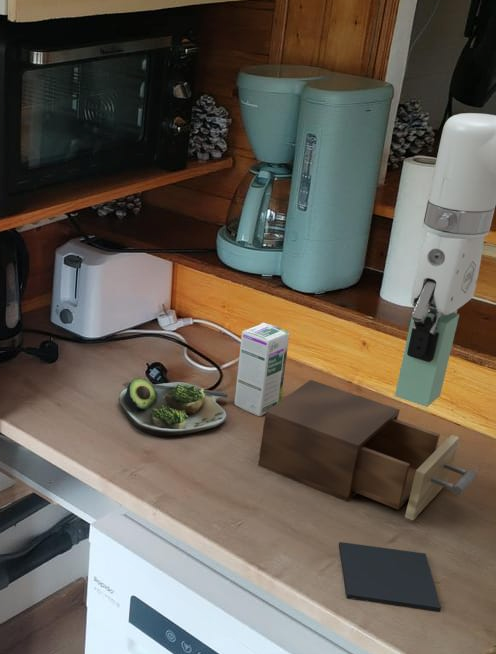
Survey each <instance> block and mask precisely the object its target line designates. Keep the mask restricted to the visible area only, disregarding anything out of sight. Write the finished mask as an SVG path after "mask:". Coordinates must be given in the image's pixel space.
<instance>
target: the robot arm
mask: <svg viewBox="0 0 496 654" xmlns="http://www.w3.org/2000/svg"><path fill="white" fill-rule="evenodd" d="M440 136H441V137H440V141H439V146H438V152H437V154H436V155H437V156H436V160H435V165H434V170H433V175H432V179H431V185H430V189H429V192H428V193H429V194H428V199H427V202H426V203H427V204H426V209H425V214H424V218H423V223H422V228H423V229H424V230H425V231H427V233H426V235H425V239H424V243H423V246H422V249H421V253H420V256H419V260H418V264H417V268H416V272H415V276H414V280H413V285H412V290H411V296H410V303H411V306H413V308H414V309H413V311H412V313H411V318H413V320H414V322H413V325H412V333H411V337H410V342H409V347H408V351H407V355H408V356H410V357H413V358H417V359H420V360H423V361H426V362H431V361H432V360H433V358H434V354H435V349H436V345H437V341H438V336H439V333H436V332H437V329H438V325H439V322H440V319H441V316H442V314H443V315H449V314H451V313H456V314H458V310H459V309H461V308H462V307H463V306H464V305H465V304H467V303H468V302H469V301H470V300H472V299H473V297H474V295H475V292H476V288H477V284H478V277H479V272H480V268H481V262H482V256H483V251H484V243H485V237H487V236H489V234H490V229H491V226H492V222H493V218H494V214H495V209H496V115H495V114H489V113H479V112H478V113H476V112H466V113H457V114H454V115H451V116H450V117H449V118H448V119H447V120H446V121H445V123H444V125H443V128H442V132H441V135H440ZM431 304H432V306H431ZM431 307H434V308H431ZM435 308H436V309H435ZM427 313H431V314H435V315H434V318H433V321H432V320H431V317H428V315H427Z"/></svg>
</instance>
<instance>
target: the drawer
mask: <svg viewBox="0 0 496 654" xmlns="http://www.w3.org/2000/svg"><path fill="white" fill-rule="evenodd" d="M439 440H440V433H437V432H435V431H432V430H429V429H426V428H423V427H420V426H417V425H415V424H412V423H408V422H405V421H402V420H400V419H398V420H397V419H394V418H393V419H392V420H391V421H390V422H389V423H388V424H387V425H386V426H384V427H383V428H382V429H381V430H380V431H379V432H378V433H377V434H375V435H374V436H373V437H372V438H371V439H370V440H369V441H367V442H366V443H365V444H364V445H363V446H362V447H361V448H360V451H359V456H358V461H357V466H356V471H355V476H354V480H353V485H352V490H351V491H353V492H356V494H358V495H360V496H363V497H366V498H368V499H371V500H373V501H376V502H378V503H381V504H383V505H386V506H388V507H390V508H393V509H396V510H399V509H400V508H401V507H402V506H403V505H404V504H405V503H406V501H408V503H407V507H406V511H405V515H404V517H405V518H406V519H408V520H411V521H414V520H415V519H416V518H417V517H418V516H419V515H420V513H421V512H422V511H423V510H424V509H425V508H426V507H427V506H428V505H429V504H430V503H431V502H432V500H433V499H435V497H436V496H437V495H438V494H439V492H440V491H441V490H442V489H443V488H446V489H448V490H451V493H452V494H453V495H455V496H461V495H462V494H463V493H464V492H465V490H467V489H468V487H469V486H470V485H471V484H472V482H474V480H475V479H476V478H477V476H478V472H477V471H476V470H475V469H472V468H470V469H467V470H466V469H465V468H461V467H458V466H455V465H453V464H454V460H455V456H456V454H457V453H456V452H457V448H458V444H459V441H460V437H459V436H457V435H455V434H450V435H449V436H448V437H447V439H445V440H444V441H442V443H441V444H440V446H438V444H439ZM451 472H454V473H456V474H459V475H462V476H461V477H460V478H459V479H458V480H457V482H456V483H454V484H453V483H450V482H449V480H450V475H451Z"/></svg>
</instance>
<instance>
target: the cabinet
mask: <svg viewBox="0 0 496 654" xmlns="http://www.w3.org/2000/svg"><path fill="white" fill-rule="evenodd" d="M399 415H400V408H396V407H393V406H391V405H387V404H384V403H383V402H382V403H381V402H378V401H375V400H372V399H370V398H367V397H364V396H360V395H357V394H354V393H353V392H352V393H351V392H348V391H346V390H342V389H340V388H337V387H333V386H331V385H327V384H326V383H322V382H319V381H316V380H313V379H309V380H308V381H307V382H305V383H304V384H302V385H301V386H299V387H298V388H297V389H295V390H294V391H292V392H291V393H290V394H288V395H287V396H286V397H284V398H283V399H281V401H280V402H278V403H277V404H276V405H274V406H273V407H271V408H270V409H269V410H267V411H266V413H265V414H264V420H263V421H264V422H263V427H262V436H261V441H260V449H259V456H258V463H257V466H259V467H262V468H263V469H267V470H268V471H271V472H274V473H276V474H279V475H281V476H284V477H286V478H288V479H291V480H293V481H296V482H298V483H301V484H302V485H305V486H307V487H310V488H313V489H315V490H317V491H320V492H322V493H325V494H327V495H330V496H332V497H334V498H337V499H339V500H342V501H344V502H347V503H348V502H349V501H350V500H351V499H352V498H353V497H354V496H355V495H356V494H357V493H356V492H353V491H351V490H352V485H353V480H354V476H355V471H356V466H357V461H358V456H359V451H360V448H361V447H362V446H363V445H364V444H365V443H366V442H367V441H369V440H370V439H371V438H372V437H373V436H374V435H375V434H377V433H378V432H379V431H380V430H381V429H382V428H383V427H384V426H386V425H387V424H388V423H389V422H390V421H391V420H392V419H393V418H394V419H397V420H399Z"/></svg>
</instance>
